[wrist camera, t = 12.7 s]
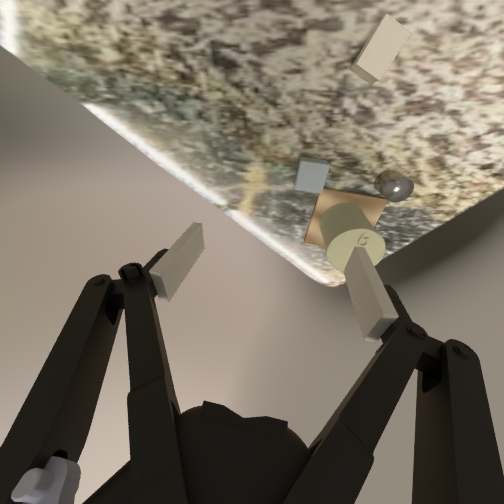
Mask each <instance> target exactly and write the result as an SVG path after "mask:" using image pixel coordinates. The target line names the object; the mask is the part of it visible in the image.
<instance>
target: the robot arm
mask: <svg viewBox="0 0 504 504" xmlns="http://www.w3.org/2000/svg"><path fill="white" fill-rule="evenodd" d="M203 250H204V240H203V230H202V224H201V223H195V222H194V223H193V224H192V225H191V226H190V227H189V228H188V229H187V230H186V231H185V232H184V233H183V235H182V236H181V237H180V238H179V239H178V240H177V241H176V242H175V243H174V244H173V245H172V247H171V248H170V249H163V250H161V251H159V252H158V253H157V254H156V255H155V256H154V257H153V258H152V259H151V261H149V262H148V263H147V264H146V265H145V266H144V267H143V268H142V265H141V264H139V263H129V264H126V265H124V266H122V267H121V268H120V269H119V271H118V273H119V275H120V278H121V279H119V280H112V279H111V277H110V276H109V275H105V274H101V275H97V276H95V277H93V278H91V279H90V280H89V281H88V282H87V283H86V285H85V287H84V289H83V290H82V292H81V294H80V296H79V298H78V300H77V302H76V304H75V306H74V308H73V310H72V312H71V314H70V315H69V317H68V319H67V321H66V323H65V325H64V327H63V329H62V331H61V333H60V335H59V337H58V338H57V341H56V342H55V344H54V346H53V348H52V350H51V352H50V354H49V356H48V358H47V360H46V362H45V363H44V365H43V367H42V369H41V371H40V373H39V375H38V377H37V379H36V381H35V383H34V385H33V387H32V388H31V390H30V393H29V394H28V396H27V398H26V400H25V402H24V404H23V406H22V408H21V410H20V412H19V413H18V415H17V417H16V419H15V421H14V423H13V425H12V427H11V429H10V431H9V433H8V435H7V437H6V438H5V441H4V442H3V444H2V446H1V447H0V504H74V497H75V494H76V492H77V490H78V487H79V480H80V475H81V471H80V467H79V465H78V464H77V462H78V460H79V457H80V455H81V452H82V450H83V448H84V445H85V442H86V439H87V436H88V433H89V430H90V426H91V423H92V419H93V416H94V412H95V408H96V405H97V401H98V398H99V394H100V390H101V386H102V383H103V380H104V376H105V373H106V369H107V365H108V362H109V358H110V354H111V351H112V347H113V344H114V340H115V337H116V333H117V329H118V326H119V322H120V319H121V315H122V311H123V309H125V321H126V334H127V348H128V361H129V375H130V392H129V393H128V396H127V408H128V425H129V442H130V460H129V461H128V462H127V463H126V464H125V465H124V466H123V467H122V468H121V469H120V470H118V471H117V472H116V473H115V474H114V475H113V476H112V477H111V478H110V479H109V480H108V481H107V482H105V483H104V484H103V485H102V486H101V487H100V488H99V489H98V490H97V491H96V492H94V493H93V494H92V495H91V496H90V497H89V498H88V499H87V500H86V501H85V502H84V503H82V504H354V503H355V501H356V499H357V497H358V494H359V492H360V490H361V488H362V486H363V484H364V482H365V480H366V478H367V476H368V473H369V471H370V469H371V467H372V465H373V462H374V456H373V452H374V449H375V447H376V445H377V443H378V441H379V439H380V437H381V435H382V433H383V431H384V429H385V427H386V425H387V423H388V421H389V419H390V417H391V415H392V413H393V411H394V409H395V407H396V405H397V403H398V401H399V399H400V397H401V395H402V392H403V391H404V389H405V387H406V385H407V383H408V380H409V379H410V376H411V375H412V373H413V371H414V368H415V369H417V370H418V378H417V400H416V402H417V403H416V422H415V445H414V467H413V489H412V504H504V475H503V470H502V465H501V461H500V456H499V451H498V446H497V442H496V437H495V433H494V427H493V423H492V418H491V413H490V408H489V403H488V399H487V394H486V389H485V385H484V380H483V375H482V370H481V365H480V360H479V358H478V356H477V354H476V353H475V352H474V351H473V350H472V349H471V348H470V347H469V346H467V345H466V344H464V343H462V342H460V341H458V340H454V339H450V340H447V341H446V342H445V343H443V342H441V341H439V340H437V339H434V338H432V337H430V336H428V335H427V333H426V331H425V330H424V329H423V328H422V327H420V326H419V325H417V324H416V323H414V322H412V320H411V318H410V317H409V315H408V313H407V311H406V309H405V307H404V305H403V304H402V302H401V300H400V299H399V296H398V295H397V293H396V291H395V290H394V289H393V288H392V287H391V286H390V285H384V284H383V283H382V281H381V279H380V277H379V275H378V274H377V272H376V269H375V268H374V265H373V263H372V261H371V259H370V257H369V255H368V253H367V251H366V249H365V247H358V246H355V247H354V249H353V251H352V254H351V256H350V258H349V260H348V262H347V264H346V267H345V269H344V275H345V278H346V282H347V285H348V288H349V292H350V295H351V298H352V302H353V306H354V309H355V312H356V316H357V319H358V323H359V326H360V330H361V333H362V337H363V340H365V341H370V342H375V343H376V342H377V341H378V340H379V339H380V338H381V339H382V342H383V344H382V345H381V347H380V348H379V349H378V350H377V351H376V354H375V355H374V357H373V358H372V359H371V361H370V362H369V364H368V365H367V367H366V368H365V369H364V371H363V372H362V374H361V375H360V377H359V378H358V379H357V381H356V382H355V384H354V385H353V387H352V388H351V389H350V391H349V392H348V394H347V395H346V397H345V398H344V399H343V401H342V402H341V404H340V405H339V407H338V408H337V409H336V411H335V412H334V414H333V415H332V417H331V418H330V419H329V421H328V422H327V424H326V425H325V427H324V428H323V430H322V431H321V432H320V433H319V435H318V436H317V437H316V439H315V440H314V441H313V442H312V444H311V445H310V447H309V448H307V446H306V445H305V443H304V442H303V441H302V440H301V438H299V436H298V435H297V434H296V433H295V432H293V431H292V430H291V429H289V428H288V422H287V421H284V420H280V419H276V418H272V417H267V416H263V417H251V418H243V417H241V416H239V415H238V414H236V413H235V412H233V411H231V410H230V409H228V408H227V407H225V406H224V405H220V404H216V403H212V402H208V401H204V402H203V405H202V406H197V407H193V408H191V409H188V410H187V411H185V412H183V413H182V414H181V412H180V409H179V405H178V401H177V398H176V394H175V390H174V385H173V381H172V376H171V372H170V367H169V363H168V358H167V354H166V349H165V345H164V340H163V336H162V332H161V327H160V323H159V318H158V313H157V309H156V304H155V300H154V298H155V297H156V295H158V298H159V300H163V301H168V302H169V301H170V300H171V298H172V297H173V295H174V294H175V292H176V291H177V289H178V288H179V286H180V285H181V283H182V282H183V280H184V278H185V277H186V276H187V274H188V272H189V271H190V269H191V268H192V266H193V265H194V264H195V262H196V260H197V259H198V257H199V256H200V254H201V253H202V251H203Z"/></svg>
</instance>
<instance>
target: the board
mask: <svg viewBox="0 0 504 504" xmlns="http://www.w3.org/2000/svg"><path fill="white" fill-rule="evenodd" d="M387 202H388V199H387V198H384V197H378V196H372V195H366V194H360V193H354V192H348V191H342V190H336V189H330V188H324V187H323V190H322V194H319V195H318V198H317V201H316V204H315V207H314V211H313V214H312V217H311V220H310V223H309V226H308V230H307V233H306V236H305V239H304V243H308V244H314V245H319V246H324V247H325V245H324V241H323V236H322V233H321V231H320V227H319V224H320V220H321V217H322V216H323V214H324V213H325V212H326V211H327V210H328V209H329V208H331V207H332V206H334V205H337V204H341V203H351V204H355V205H357V206H358V207H360V208H361V209H362V210H363V212H364V214H365V216H366V217H367V219H368V220H369V222H370V223H371V224H372V226H373V227H374V226H375V224H376V222H377V220H378V218H379V217H380V215H381V213H382V211H383V209H384V207H385V205H386V204H387Z"/></svg>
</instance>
